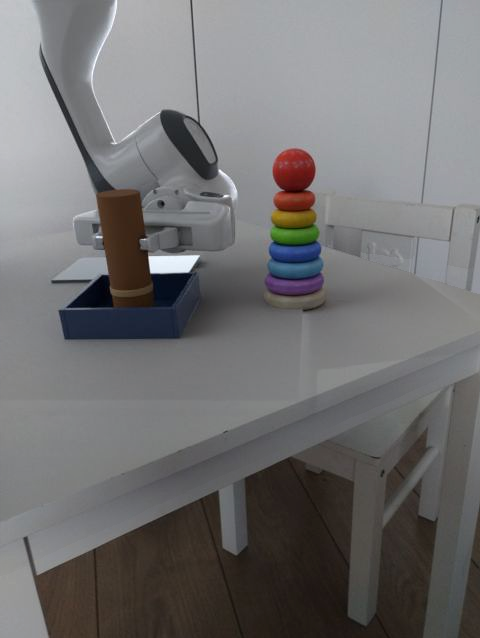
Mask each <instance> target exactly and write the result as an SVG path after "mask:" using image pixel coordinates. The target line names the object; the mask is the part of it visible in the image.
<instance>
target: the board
mask: <svg viewBox="0 0 480 638" xmlns="http://www.w3.org/2000/svg"><path fill="white" fill-rule="evenodd" d="M148 258H149V265H150V273H182V272H193V270H196V269H197V267H198V266H199V264H200V263H201V261H202V260H201V255H199V254H197V255H196V254H195V255H193V254H192V255H157V256H156V255H151V256H150V255H148ZM99 274H108V268H107V262H106V256H102V257H101V256H99V257H97V256H94V257H80V258H79V259H77V260H76V261H75V262H73V263H71V265H70V266H68V267H66V268H65V269H64V270H63V271H61V272H59V274H57V275H56V276H55V277H53V278H52V279H51V280H50V283H51V284H77V283H78V284H79V283H81V284H82V283H86V284H88V283H90V282H91V281H92V280H93V279H94V278H95V277H96V276H97V275H99Z"/></svg>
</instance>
